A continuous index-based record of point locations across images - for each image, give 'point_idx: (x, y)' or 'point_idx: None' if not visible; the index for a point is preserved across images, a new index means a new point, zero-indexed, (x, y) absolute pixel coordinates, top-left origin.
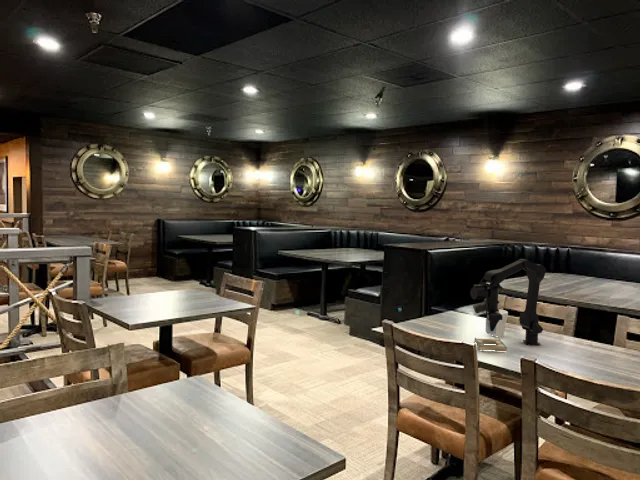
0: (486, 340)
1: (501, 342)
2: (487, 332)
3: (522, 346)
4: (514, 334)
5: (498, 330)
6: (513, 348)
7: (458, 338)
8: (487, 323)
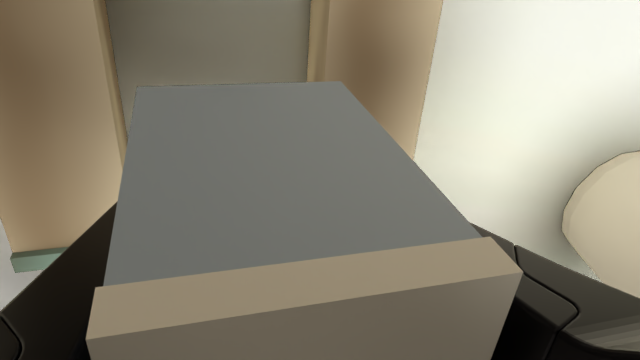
0: (348, 57)
1: None
2: (134, 102)
3: None
4: None
5: (616, 249)
6: None
7: None
8: (126, 251)
